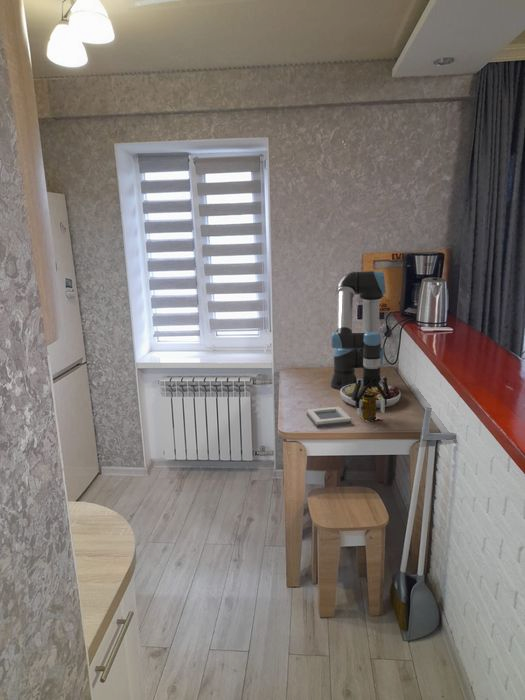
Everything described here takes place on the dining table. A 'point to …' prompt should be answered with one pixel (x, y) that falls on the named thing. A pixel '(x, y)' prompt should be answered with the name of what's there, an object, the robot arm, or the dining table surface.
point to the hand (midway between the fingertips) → (370, 413)
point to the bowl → (349, 389)
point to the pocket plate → (328, 417)
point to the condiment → (369, 407)
